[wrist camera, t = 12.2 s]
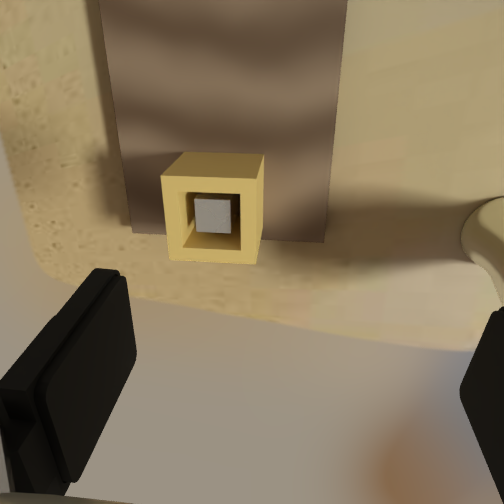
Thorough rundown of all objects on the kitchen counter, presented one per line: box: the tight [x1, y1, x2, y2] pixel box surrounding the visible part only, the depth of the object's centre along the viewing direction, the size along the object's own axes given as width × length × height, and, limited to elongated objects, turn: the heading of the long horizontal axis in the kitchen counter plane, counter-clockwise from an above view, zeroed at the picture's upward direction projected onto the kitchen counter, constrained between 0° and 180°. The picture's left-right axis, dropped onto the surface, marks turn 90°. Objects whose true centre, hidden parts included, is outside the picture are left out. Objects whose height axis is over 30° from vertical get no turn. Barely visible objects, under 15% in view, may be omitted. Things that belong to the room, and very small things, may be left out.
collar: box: [161, 152, 264, 264], centre depth 29 cm, size 6×6×6 cm
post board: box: [99, 0, 348, 243], centre depth 28 cm, size 18×16×6 cm
